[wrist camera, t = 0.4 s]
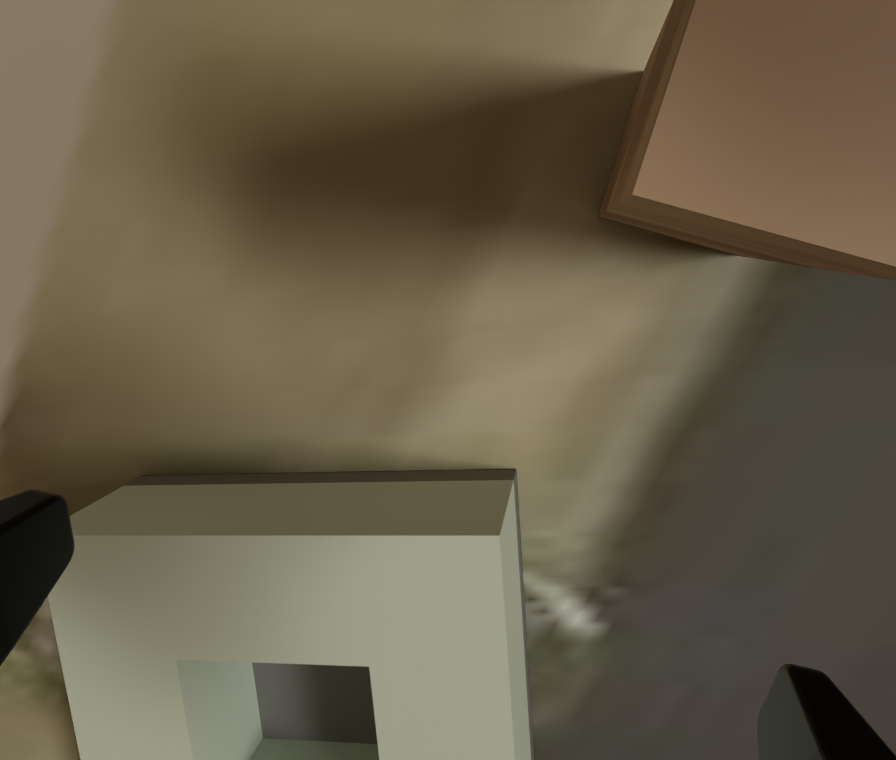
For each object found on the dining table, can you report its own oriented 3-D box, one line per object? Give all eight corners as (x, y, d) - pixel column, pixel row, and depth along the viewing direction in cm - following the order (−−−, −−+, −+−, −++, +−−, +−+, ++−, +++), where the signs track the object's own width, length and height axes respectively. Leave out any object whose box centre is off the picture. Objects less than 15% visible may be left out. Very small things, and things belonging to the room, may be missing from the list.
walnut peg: (737, 255, 20) (1015, 299, 7) (597, 216, 20) (631, 195, 8) (791, 108, 19) (1222, -137, 6) (643, 70, 19) (771, -228, 7)
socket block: (538, 825, 25) (529, 970, 20) (196, 799, 27) (113, 923, 22) (516, 469, 22) (499, 535, 17) (141, 475, 25) (35, 535, 20)
